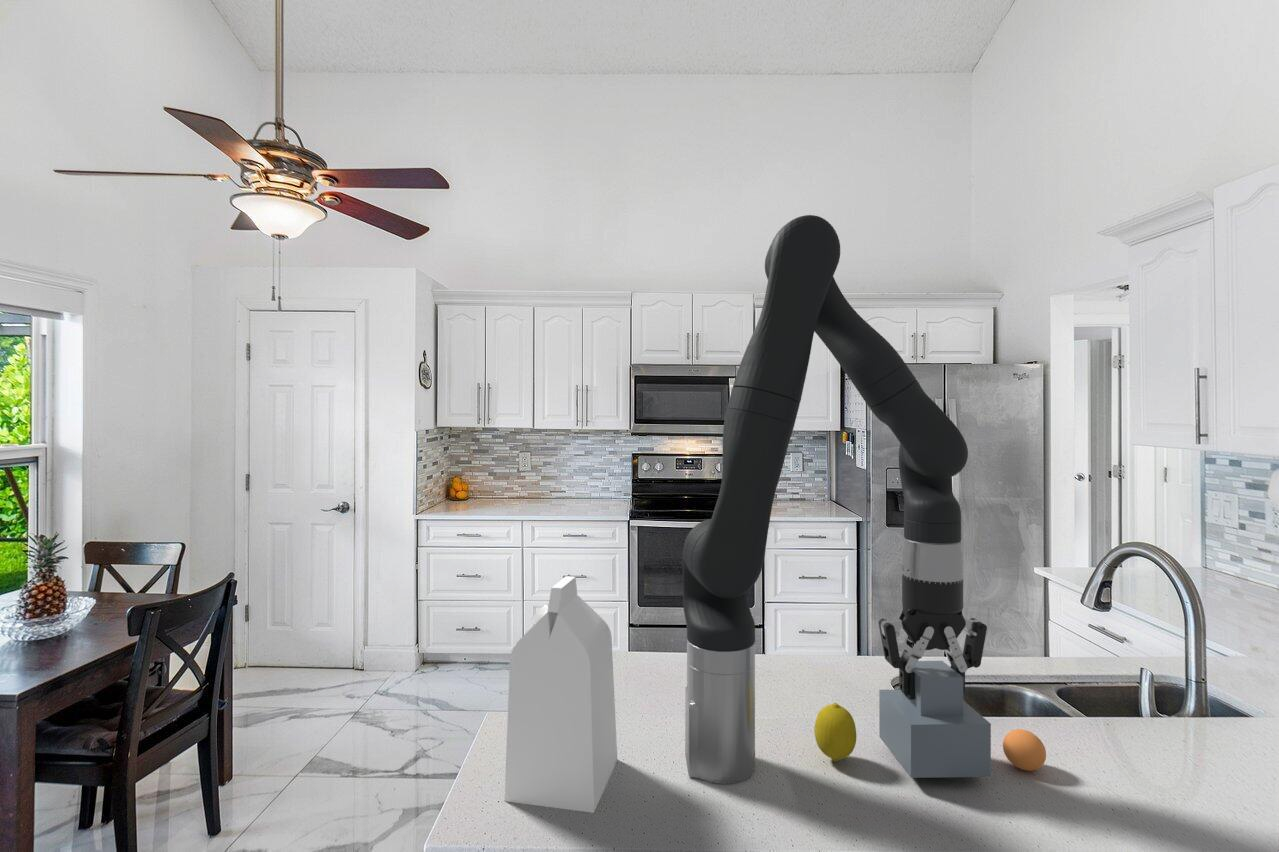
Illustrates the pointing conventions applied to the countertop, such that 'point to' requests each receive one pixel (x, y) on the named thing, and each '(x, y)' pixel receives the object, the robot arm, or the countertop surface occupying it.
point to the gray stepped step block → (935, 726)
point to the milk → (561, 707)
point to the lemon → (835, 732)
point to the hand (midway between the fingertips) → (932, 696)
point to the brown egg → (1024, 749)
